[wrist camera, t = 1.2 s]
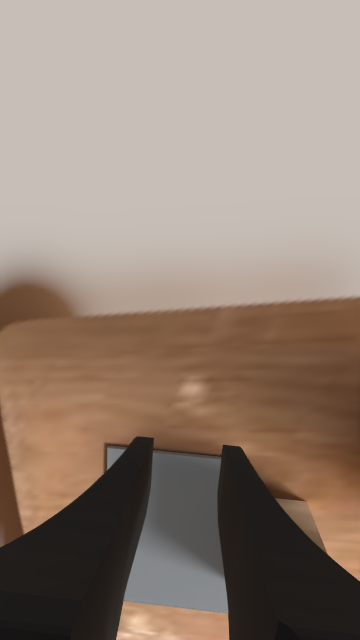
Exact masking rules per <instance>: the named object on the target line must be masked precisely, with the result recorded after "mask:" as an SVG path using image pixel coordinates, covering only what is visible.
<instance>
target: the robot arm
mask: <svg viewBox="0 0 360 640" xmlns="http://www.w3.org/2000/svg"><path fill="white" fill-rule="evenodd" d="M153 444H154V438H148V437H138V436H137V437H136V438H134V439H133V441H132V442H131V443H130V445H129V446H128V447H127V449H126V450H125V451H124V452H123V453H122V455H121V456H120V457H119V458H118V459H117V460H116V461H115V462H114V463H113V465H112V466H111V467H110V468H109V469H108V470H107V471H106V472H105V473H104V474H103V475H102V476H101V477H100V478H99V479H98V480H97V481H96V482H95V483H94V484H93V485H92V486H91V487H90V488H88V489H87V490H86V491H85V492H84V493H83V494H82V495H80V496H79V497H78V498H77V499H76V500H74V501H73V502H72V503H71V504H69V505H68V506H67V507H65V508H64V509H63V510H61V511H60V512H58V513H57V514H56V515H54V516H53V517H51V518H50V519H48V520H47V521H45V522H44V523H43V524H41V525H39V526H38V527H36V528H35V529H33V530H31V531H29V532H28V533H26V534H24V535H23V536H21V537H19V538H17V539H15V540H14V541H12V542H10V543H8V544H6V545H4V546H2V547H0V640H116V637H117V631H118V626H119V621H120V616H121V610H122V605H123V600H124V595H125V591H126V587H127V583H128V579H129V575H130V572H131V568H132V565H133V561H134V557H135V554H136V550H137V547H138V543H139V539H140V536H141V532H142V529H143V525H144V521H145V518H146V513H147V508H148V502H149V496H150V490H151V478H152V461H153ZM217 510H218V529H219V537H220V545H221V553H222V561H223V568H224V576H225V584H226V592H227V603H228V617H229V640H360V581H359V580H357V579H356V578H355V577H354V576H352V575H351V574H350V573H348V572H347V571H346V570H345V569H344V568H342V567H341V566H340V565H339V564H338V563H337V562H335V561H334V560H333V559H332V558H331V557H330V556H329V555H327V554H326V553H325V552H324V551H323V550H322V549H321V548H320V547H319V546H318V545H317V544H316V543H314V542H313V541H312V540H311V539H310V538H309V537H308V536H307V535H306V534H305V533H304V532H303V530H302V529H301V528H300V527H299V526H298V525H297V524H296V523H295V522H294V521H293V520H292V519H291V518H290V516H289V515H288V514H287V513H286V512H285V510H284V509H283V508H282V507H281V505H280V504H279V503H278V502H277V500H276V499H275V498H274V497H273V495H272V494H271V493H270V491H269V490H268V488H267V487H266V486H265V484H264V483H263V481H262V480H261V478H260V477H259V475H258V474H257V472H256V471H255V469H254V468H253V466H252V465H251V463H250V461H249V460H248V458H247V456H246V455H245V453H244V451H243V450H242V448H241V447H238V446H228V445H223V449H222V457H221V466H220V474H219V483H218V491H217Z"/></svg>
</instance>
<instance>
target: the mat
mask: <svg viewBox="0 0 360 640" xmlns="http://www.w3.org/2000/svg"><path fill="white" fill-rule="evenodd" d="M126 449H127V447H120V446H110V445H108V448H107V470H108V469H109V468H110V467H111V466H112V465H113V463H114V462H115V461H116V460H117V459H118V458H119V457H120V456H121V455H122V453H123V452H124V451H125V450H126ZM220 466H221V457H218V456H208V455H199V454H189V453H179V452H169V451H159V450H153V461H152V478H151V490H150V496H149V502H148V508H147V513H146V518H145V521H144V525H143V529H142V532H141V536H140V539H139V543H138V547H137V550H136V554H135V557H134V561H133V565H132V568H131V572H130V575H129V579H128V583H127V587H126V591H125V595H124V600H123V601H127V602H135V603H144V604H152V605H160V606H168V607H177V608H185V609H193V610H201V611H210V612H218V613H226V614H228V603H227V592H226V584H225V576H224V568H223V561H222V553H221V545H220V537H219V529H218V510H217V491H218V483H219V474H220Z"/></svg>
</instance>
